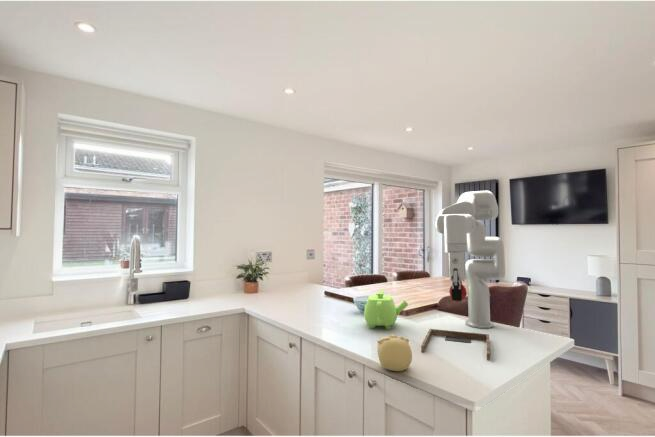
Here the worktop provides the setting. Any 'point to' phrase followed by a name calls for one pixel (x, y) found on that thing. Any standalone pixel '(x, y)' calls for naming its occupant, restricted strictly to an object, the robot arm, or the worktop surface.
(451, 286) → the onion
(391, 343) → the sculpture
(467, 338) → the wooden u-shaped frame
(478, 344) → the worktop surface
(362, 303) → the chinaware
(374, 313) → the teapot
